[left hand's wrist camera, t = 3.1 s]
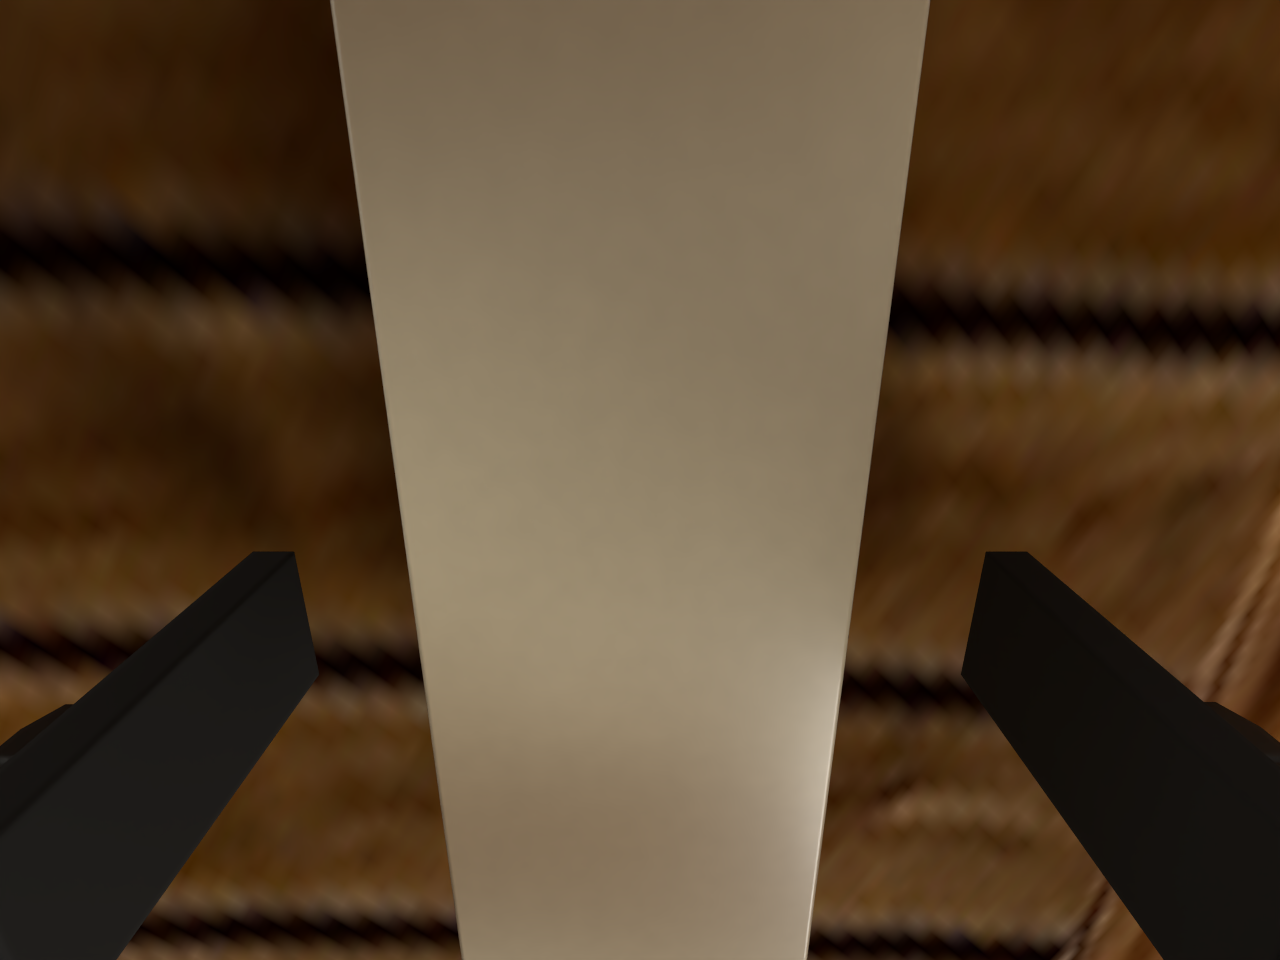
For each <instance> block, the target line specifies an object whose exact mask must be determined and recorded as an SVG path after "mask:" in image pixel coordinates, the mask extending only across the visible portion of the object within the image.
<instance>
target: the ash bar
mask: <svg viewBox="0 0 1280 960" xmlns="http://www.w3.org/2000/svg"><path fill="white" fill-rule="evenodd" d="M330 4H331V11H332V18H333V25H334V33H335V40H336V47H337V55H338V62H339V69H340V76H341V84H342V91H343V98H344V105H345V113H346V120H347V127H348V135H349V142H350V149H351V156H352V164H353V171H354V178H355V185H356V193H357V200H358V207H359V214H360V222H361V229H362V236H363V244H364V251H365V258H366V265H367V273H368V280H369V287H370V294H371V302H372V309H373V316H374V324H375V331H376V338H377V345H378V353H379V360H380V367H381V374H382V382H383V389H384V396H385V404H386V411H387V418H388V425H389V433H390V440H391V447H392V454H393V462H394V469H395V476H396V483H397V491H398V498H399V505H400V513H401V520H402V527H403V534H404V542H405V549H406V556H407V563H408V571H409V578H410V585H411V593H412V600H413V607H414V614H415V622H416V629H417V636H418V643H419V651H420V658H421V665H422V673H423V680H424V687H425V694H426V702H427V709H428V716H429V723H430V731H431V738H432V745H433V752H434V760H435V767H436V774H437V782H438V789H439V796H440V803H441V811H442V818H443V825H444V832H445V840H446V847H447V854H448V862H449V869H450V876H451V883H452V891H453V898H454V905H455V912H456V920H457V927H458V934H459V942H460V949H461V956H462V960H807V954H808V946H809V938H810V930H811V923H812V915H813V907H814V899H815V891H816V884H817V876H818V868H819V860H820V853H821V845H822V837H823V829H824V822H825V814H826V806H827V798H828V790H829V783H830V775H831V767H832V759H833V752H834V744H835V736H836V728H837V720H838V713H839V705H840V697H841V689H842V682H843V674H844V666H845V658H846V651H847V643H848V635H849V627H850V619H851V612H852V604H853V596H854V588H855V581H856V573H857V565H858V557H859V549H860V542H861V534H862V526H863V518H864V511H865V503H866V495H867V487H868V480H869V472H870V464H871V456H872V448H873V441H874V433H875V425H876V417H877V410H878V402H879V394H880V386H881V379H882V371H883V363H884V355H885V347H886V340H887V332H888V324H889V316H890V309H891V301H892V293H893V285H894V277H895V270H896V262H897V254H898V246H899V239H900V231H901V223H902V215H903V208H904V200H905V192H906V184H907V176H908V169H909V161H910V153H911V145H912V138H913V130H914V122H915V114H916V106H917V99H918V91H919V83H920V75H921V68H922V60H923V52H924V44H925V37H926V29H927V21H928V13H929V5H930V0H330Z"/></svg>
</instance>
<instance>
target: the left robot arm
mask: <svg viewBox="0 0 1280 960" xmlns="http://www.w3.org/2000/svg"><path fill="white" fill-rule="evenodd" d="M318 675H319V672H318V667H317V662H316V657H315V652H314V647H313V642H312V637H311V632H310V627H309V623H308V618H307V613H306V608H305V603H304V598H303V593H302V588H301V583H300V578H299V573H298V569H297V564H296V559H295V554H294V552H252V553H251V554H250V555H249V556H247V557H246V558H245V559H244V560H243V561H242V562H240V563H239V564H238V565H237V566H236V567H235V568H233V569H232V570H231V571H230V572H229V573H227V574H226V575H225V576H224V577H223V578H222V579H220V580H219V581H218V582H217V583H216V584H215V585H213V586H212V587H211V588H210V589H209V590H207V591H206V592H205V593H204V594H203V595H202V596H200V597H199V598H198V599H197V600H196V601H195V602H193V603H192V604H191V605H190V606H189V607H187V608H186V609H185V610H184V611H183V612H182V613H180V614H179V615H178V616H177V617H176V618H175V619H173V620H172V621H171V622H170V623H169V624H168V625H166V626H165V627H164V628H163V629H162V630H160V631H159V632H158V633H157V634H156V635H155V636H153V637H152V638H151V639H150V640H149V641H148V642H146V643H145V644H144V645H143V646H142V647H140V648H139V649H138V650H137V651H136V652H135V653H133V654H132V655H131V656H130V657H129V658H128V659H126V660H125V661H124V662H123V663H122V664H120V665H119V666H118V667H117V668H116V669H115V670H113V671H112V672H111V673H110V674H109V675H108V676H106V677H105V678H104V679H103V680H102V681H100V682H99V683H98V684H97V685H96V686H95V687H93V688H92V689H91V690H90V691H89V692H88V693H86V694H85V695H84V696H83V697H82V698H81V699H79V700H78V701H77V702H76V703H75V704H65V705H63V706H62V707H60V708H58V709H56V710H55V711H53V712H51V713H49V714H47V715H46V716H44V717H42V718H40V719H38V720H37V721H35V722H33V723H31V724H29V725H28V726H26V727H24V728H22V729H20V730H19V731H18V732H17V733H16V734H14V735H13V736H12V737H11V738H9V739H8V740H7V741H6V742H5V743H3V744H2V745H1V746H0V960H116V959H117V958H118V957H119V955H120V954H121V952H122V951H123V950H124V948H125V947H126V945H127V944H128V943H129V941H130V940H131V938H132V937H133V936H134V934H135V933H136V931H137V930H138V929H139V927H140V926H141V924H142V923H143V921H144V920H145V919H146V917H147V916H148V914H149V913H150V912H151V910H152V909H153V907H154V906H155V905H156V903H157V902H158V900H159V899H160V898H161V896H162V895H163V893H164V892H165V891H166V889H167V888H168V886H169V885H170V883H171V882H172V881H173V879H174V878H175V876H176V875H177V874H178V872H179V871H180V869H181V868H182V867H183V865H184V864H185V862H186V861H187V860H188V858H189V857H190V855H191V854H192V853H193V851H194V850H195V848H196V847H197V845H198V844H199V843H200V841H201V840H202V838H203V837H204V836H205V834H206V833H207V831H208V830H209V829H210V827H211V826H212V824H213V823H214V822H215V820H216V819H217V817H218V816H219V815H220V813H221V812H222V810H223V809H224V807H225V806H226V805H227V803H228V802H229V800H230V799H231V798H232V796H233V795H234V793H235V792H236V791H237V789H238V788H239V786H240V785H241V784H242V782H243V781H244V779H245V778H246V776H247V775H248V774H249V772H250V771H251V769H252V768H253V767H254V765H255V764H256V762H257V761H258V760H259V758H260V757H261V755H262V754H263V753H264V751H265V750H266V748H267V747H268V746H269V744H270V743H271V741H272V740H273V738H274V737H275V736H276V734H277V733H278V731H279V730H280V729H281V727H282V726H283V724H284V723H285V722H286V720H287V719H288V717H289V716H290V715H291V713H292V712H293V710H294V709H295V708H296V706H297V705H298V703H299V702H300V700H301V699H302V698H303V696H304V695H305V693H306V692H307V691H308V689H309V688H310V686H311V685H312V684H313V682H314V681H315V679H316V678H317V677H318ZM961 675H962V677H963V678H964V679H965V681H966V682H967V684H968V685H969V686H970V688H971V689H972V691H973V692H974V693H975V695H976V696H977V698H978V699H979V700H980V702H981V703H982V705H983V706H984V707H985V709H986V710H987V712H988V713H989V715H990V716H991V717H992V719H993V720H994V722H995V723H996V724H997V726H998V727H999V729H1000V730H1001V731H1002V733H1003V734H1004V736H1005V737H1006V738H1007V740H1008V741H1009V743H1010V744H1011V745H1012V747H1013V748H1014V750H1015V751H1016V753H1017V754H1018V755H1019V757H1020V758H1021V760H1022V761H1023V762H1024V764H1025V765H1026V767H1027V768H1028V769H1029V771H1030V772H1031V774H1032V775H1033V776H1034V778H1035V779H1036V781H1037V782H1038V783H1039V785H1040V786H1041V788H1042V789H1043V791H1044V792H1045V793H1046V795H1047V796H1048V798H1049V799H1050V800H1051V802H1052V803H1053V805H1054V806H1055V807H1056V809H1057V810H1058V812H1059V813H1060V814H1061V816H1062V817H1063V819H1064V820H1065V822H1066V823H1067V824H1068V826H1069V827H1070V829H1071V830H1072V831H1073V833H1074V834H1075V836H1076V837H1077V838H1078V840H1079V841H1080V843H1081V844H1082V845H1083V847H1084V848H1085V850H1086V851H1087V852H1088V854H1089V855H1090V857H1091V858H1092V860H1093V861H1094V862H1095V864H1096V865H1097V867H1098V868H1099V869H1100V871H1101V872H1102V874H1103V875H1104V876H1105V878H1106V879H1107V881H1108V882H1109V883H1110V885H1111V886H1112V888H1113V889H1114V890H1115V892H1116V893H1117V895H1118V896H1119V898H1120V899H1121V900H1122V902H1123V903H1124V905H1125V906H1126V907H1127V909H1128V910H1129V912H1130V913H1131V914H1132V916H1133V917H1134V919H1135V920H1136V921H1137V923H1138V924H1139V926H1140V927H1141V928H1142V930H1143V931H1144V933H1145V934H1146V936H1147V937H1148V938H1149V940H1150V941H1151V943H1152V944H1153V945H1154V947H1155V948H1156V950H1157V951H1158V952H1159V954H1160V955H1161V957H1162V958H1163V959H1164V960H1280V742H1278V741H1277V740H1276V739H1275V738H1273V737H1272V736H1271V735H1270V734H1268V733H1267V732H1266V731H1265V730H1264V729H1262V728H1261V727H1260V726H1258V725H1256V724H1254V723H1252V722H1250V721H1249V720H1247V719H1245V718H1243V717H1241V716H1240V715H1238V714H1236V713H1234V712H1232V711H1231V710H1229V709H1227V708H1225V707H1223V706H1222V705H1220V704H1218V703H1216V702H1203V701H1202V700H1201V699H1200V698H1198V697H1197V696H1196V695H1195V694H1194V693H1192V692H1191V691H1190V690H1189V689H1188V688H1187V687H1185V686H1184V685H1183V684H1182V683H1181V682H1180V681H1178V680H1177V679H1176V678H1175V677H1174V676H1172V675H1171V674H1170V673H1169V672H1168V671H1167V670H1165V669H1164V668H1163V667H1162V666H1161V665H1160V664H1158V663H1157V662H1156V661H1155V660H1154V659H1152V658H1151V657H1150V656H1149V655H1148V654H1147V653H1145V652H1144V651H1143V650H1142V649H1141V648H1140V647H1138V646H1137V645H1136V644H1135V643H1134V642H1133V641H1131V640H1130V639H1129V638H1128V637H1127V636H1125V635H1124V634H1123V633H1122V632H1121V631H1120V630H1118V629H1117V628H1116V627H1115V626H1114V625H1113V624H1111V623H1110V622H1109V621H1108V620H1107V619H1105V618H1104V617H1103V616H1102V615H1101V614H1100V613H1098V612H1097V611H1096V610H1095V609H1094V608H1093V607H1091V606H1090V605H1089V604H1088V603H1087V602H1085V601H1084V600H1083V599H1082V598H1081V597H1080V596H1078V595H1077V594H1076V593H1075V592H1074V591H1073V590H1071V589H1070V588H1069V587H1068V586H1067V585H1066V584H1064V583H1063V582H1062V581H1061V580H1060V579H1058V578H1057V577H1056V576H1055V575H1054V574H1053V573H1051V572H1050V571H1049V570H1048V569H1047V568H1046V567H1044V566H1043V565H1042V564H1041V563H1040V562H1038V561H1037V560H1036V559H1035V558H1034V557H1033V556H1031V555H1030V554H1029V553H1028V552H986V554H985V559H984V564H983V569H982V574H981V579H980V583H979V588H978V593H977V598H976V603H975V608H974V613H973V618H972V623H971V628H970V633H969V637H968V642H967V647H966V652H965V657H964V662H963V667H962V672H961Z"/></svg>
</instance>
